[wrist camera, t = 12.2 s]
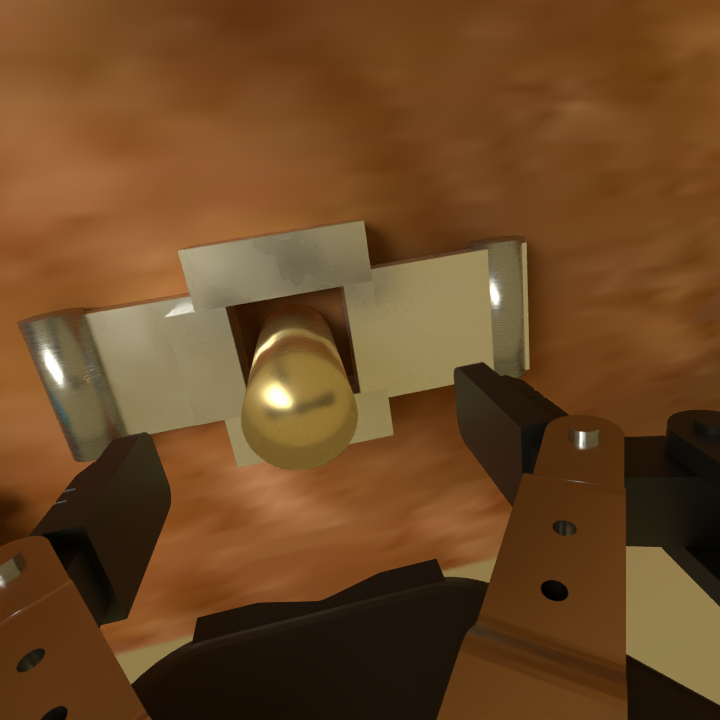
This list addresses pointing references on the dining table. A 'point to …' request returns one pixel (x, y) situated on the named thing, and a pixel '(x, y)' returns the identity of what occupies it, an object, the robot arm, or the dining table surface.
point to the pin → (297, 392)
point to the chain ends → (267, 281)
